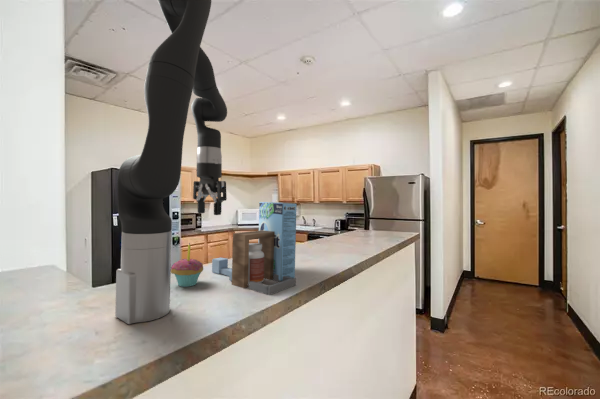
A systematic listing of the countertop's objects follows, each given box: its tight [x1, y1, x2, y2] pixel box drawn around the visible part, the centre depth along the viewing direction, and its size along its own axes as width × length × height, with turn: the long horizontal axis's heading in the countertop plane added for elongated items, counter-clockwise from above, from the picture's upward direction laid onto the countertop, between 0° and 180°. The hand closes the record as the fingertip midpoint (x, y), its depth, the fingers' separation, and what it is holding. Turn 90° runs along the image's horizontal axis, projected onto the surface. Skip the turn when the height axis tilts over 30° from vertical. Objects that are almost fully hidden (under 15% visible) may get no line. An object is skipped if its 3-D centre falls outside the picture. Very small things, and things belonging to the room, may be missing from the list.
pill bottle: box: [248, 242, 265, 285], centre depth 85 cm, size 6×6×11 cm
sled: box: [211, 257, 232, 282], centre depth 92 cm, size 13×8×4 cm, turn 53°
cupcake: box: [171, 242, 204, 288], centre depth 81 cm, size 9×8×12 cm
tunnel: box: [231, 230, 274, 289], centre depth 85 cm, size 5×12×14 cm, turn 143°
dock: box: [248, 274, 297, 296], centre depth 81 cm, size 11×8×2 cm
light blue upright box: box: [257, 201, 297, 281], centre depth 94 cm, size 19×5×23 cm, turn 28°
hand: (209, 214), depth 91 cm, fingers open, 8 cm apart
